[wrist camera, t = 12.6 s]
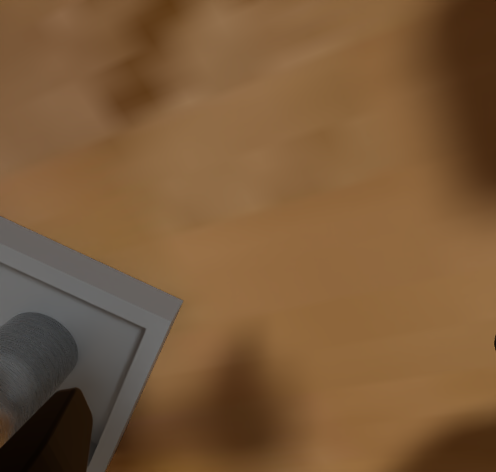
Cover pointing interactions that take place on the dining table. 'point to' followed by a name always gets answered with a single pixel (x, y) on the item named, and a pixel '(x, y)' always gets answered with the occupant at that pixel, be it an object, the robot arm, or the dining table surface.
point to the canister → (31, 366)
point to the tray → (89, 325)
